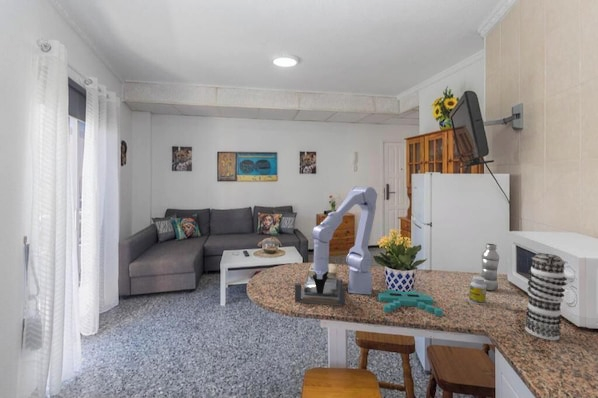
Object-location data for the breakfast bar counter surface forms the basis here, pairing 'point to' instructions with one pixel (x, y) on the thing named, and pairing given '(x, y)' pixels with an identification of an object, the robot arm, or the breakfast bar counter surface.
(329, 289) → the loose roller
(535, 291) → the decorative candle
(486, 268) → the plastic bottle
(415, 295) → the alien figure
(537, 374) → the breakfast bar counter surface
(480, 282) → the supplement bottle
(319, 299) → the roller bed
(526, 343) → the breakfast bar counter surface
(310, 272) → the slab
